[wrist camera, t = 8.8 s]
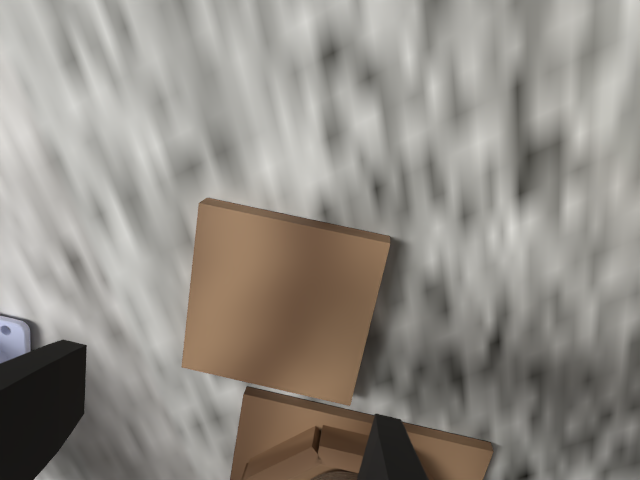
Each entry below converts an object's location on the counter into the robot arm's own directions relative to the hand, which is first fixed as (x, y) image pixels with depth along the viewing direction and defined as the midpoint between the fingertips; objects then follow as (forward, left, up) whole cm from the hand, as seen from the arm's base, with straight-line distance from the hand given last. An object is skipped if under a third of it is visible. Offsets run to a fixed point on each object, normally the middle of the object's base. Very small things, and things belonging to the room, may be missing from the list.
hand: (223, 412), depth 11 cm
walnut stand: (0, -2, -10) cm, 10 cm away
